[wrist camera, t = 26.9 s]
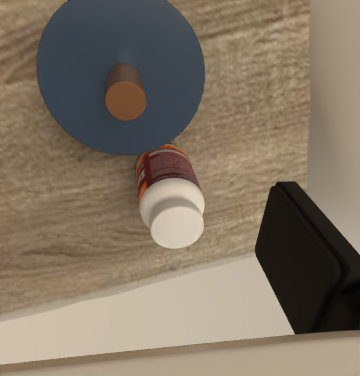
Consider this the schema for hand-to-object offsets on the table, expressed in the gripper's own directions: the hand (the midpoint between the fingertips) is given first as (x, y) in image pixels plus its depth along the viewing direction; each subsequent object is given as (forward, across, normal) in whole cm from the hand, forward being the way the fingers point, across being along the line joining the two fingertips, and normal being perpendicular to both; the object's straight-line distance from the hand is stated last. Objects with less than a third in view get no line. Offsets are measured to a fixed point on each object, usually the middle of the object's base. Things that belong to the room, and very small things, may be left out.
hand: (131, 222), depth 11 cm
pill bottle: (+24, -4, +11) cm, 27 cm away
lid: (+18, 0, 0) cm, 18 cm away
